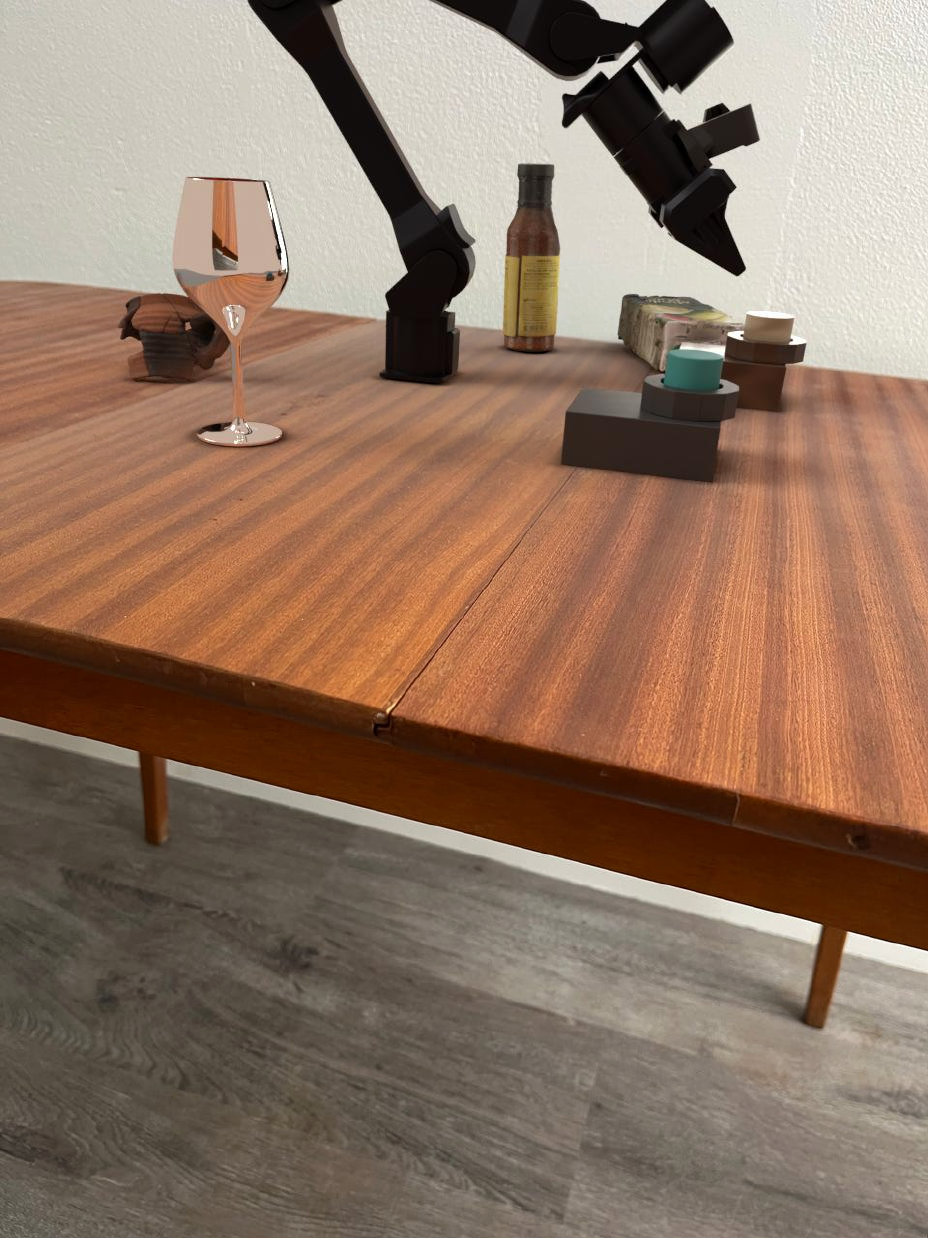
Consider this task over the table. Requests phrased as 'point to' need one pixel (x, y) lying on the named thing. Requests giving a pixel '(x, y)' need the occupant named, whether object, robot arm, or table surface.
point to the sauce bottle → (532, 264)
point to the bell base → (755, 367)
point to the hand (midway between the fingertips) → (741, 272)
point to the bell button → (768, 326)
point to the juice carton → (670, 325)
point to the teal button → (693, 369)
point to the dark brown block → (648, 429)
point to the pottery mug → (171, 336)
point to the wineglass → (231, 275)
